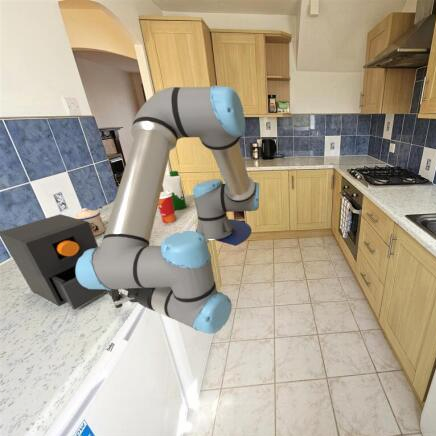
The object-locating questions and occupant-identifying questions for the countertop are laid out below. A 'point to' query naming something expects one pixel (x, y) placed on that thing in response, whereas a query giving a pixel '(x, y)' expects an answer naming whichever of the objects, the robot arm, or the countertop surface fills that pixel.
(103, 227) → the teacup with lid
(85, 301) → the pull-out fryer drawer
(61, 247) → the button
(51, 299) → the fryer base
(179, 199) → the milk carton
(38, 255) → the panel
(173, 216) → the paper cup
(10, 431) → the countertop surface
